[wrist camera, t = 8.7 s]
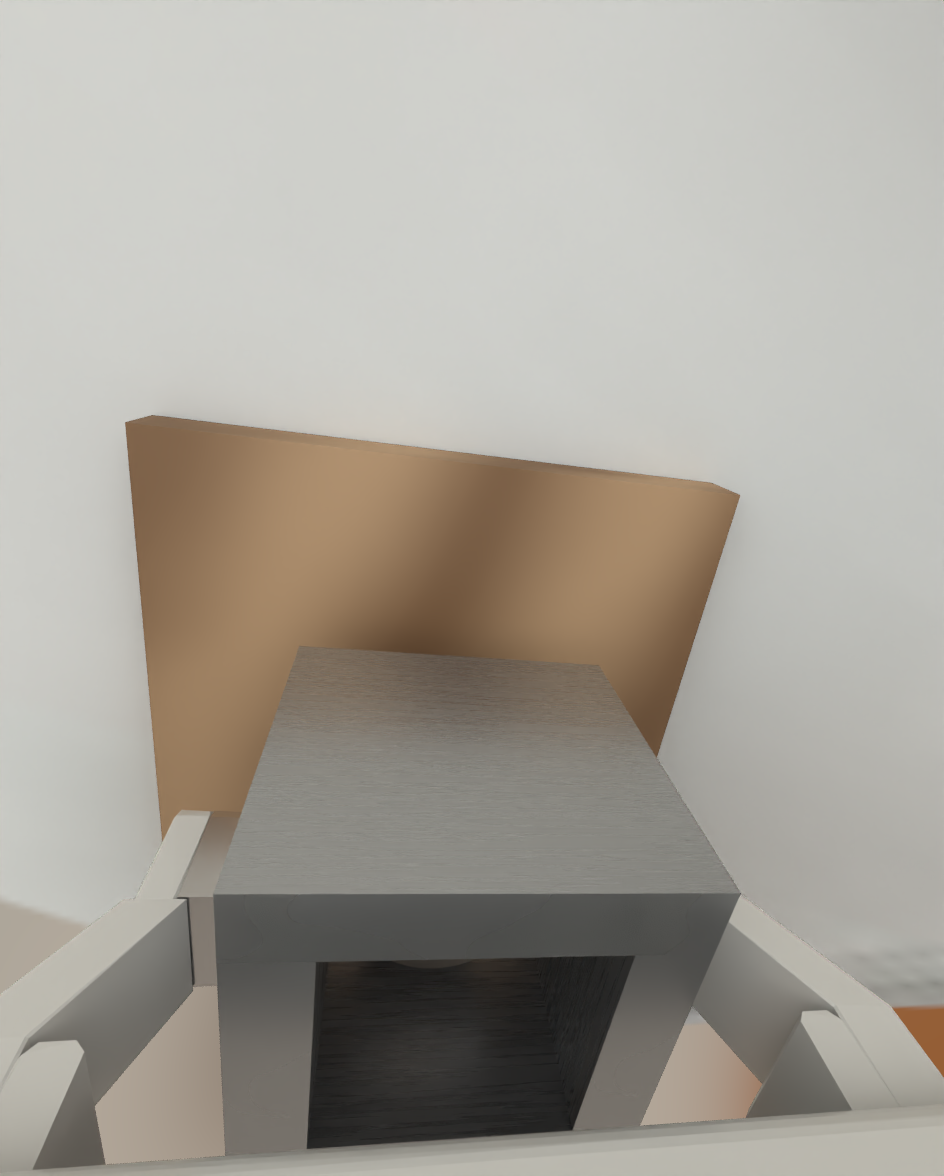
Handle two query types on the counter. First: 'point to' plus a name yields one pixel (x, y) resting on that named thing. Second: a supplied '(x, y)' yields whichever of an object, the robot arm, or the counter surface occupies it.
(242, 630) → the post block
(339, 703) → the square sleeve
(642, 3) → the counter surface
